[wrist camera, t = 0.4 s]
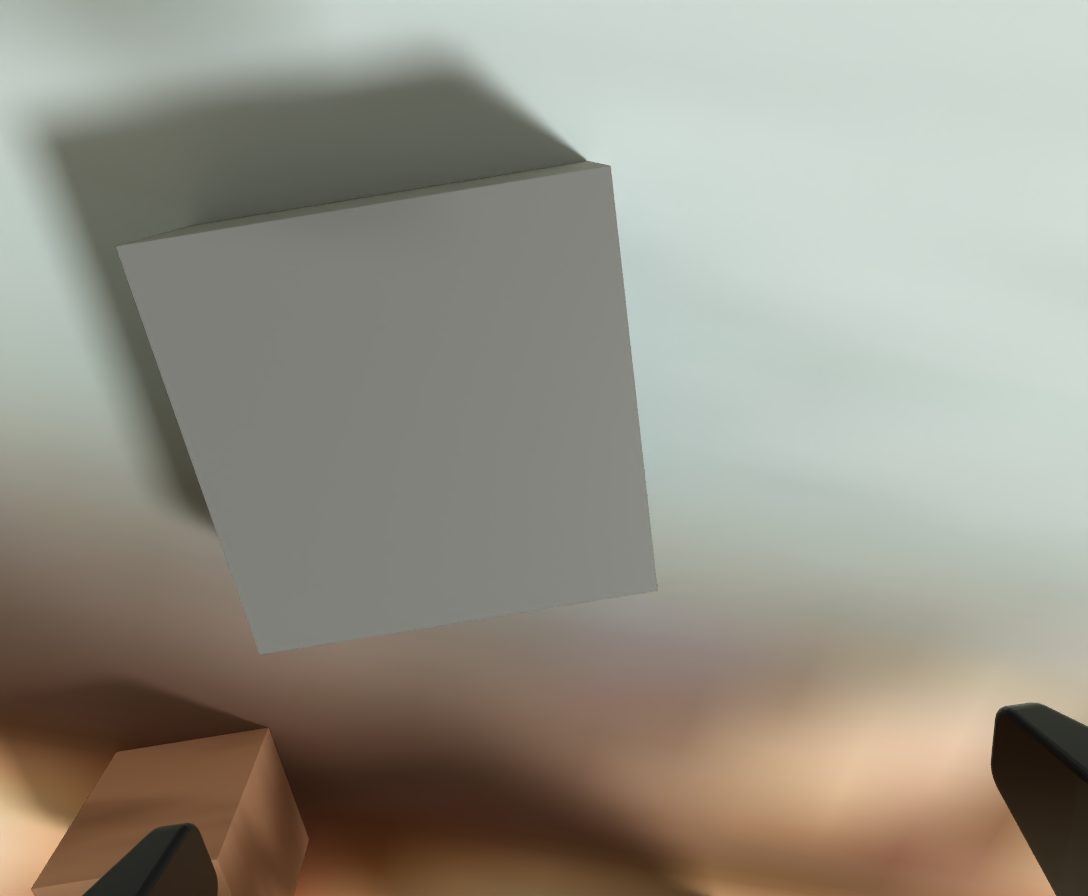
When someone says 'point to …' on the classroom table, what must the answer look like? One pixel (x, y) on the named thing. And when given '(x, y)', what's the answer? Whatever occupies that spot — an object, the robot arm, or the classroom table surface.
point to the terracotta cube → (190, 815)
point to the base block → (408, 402)
